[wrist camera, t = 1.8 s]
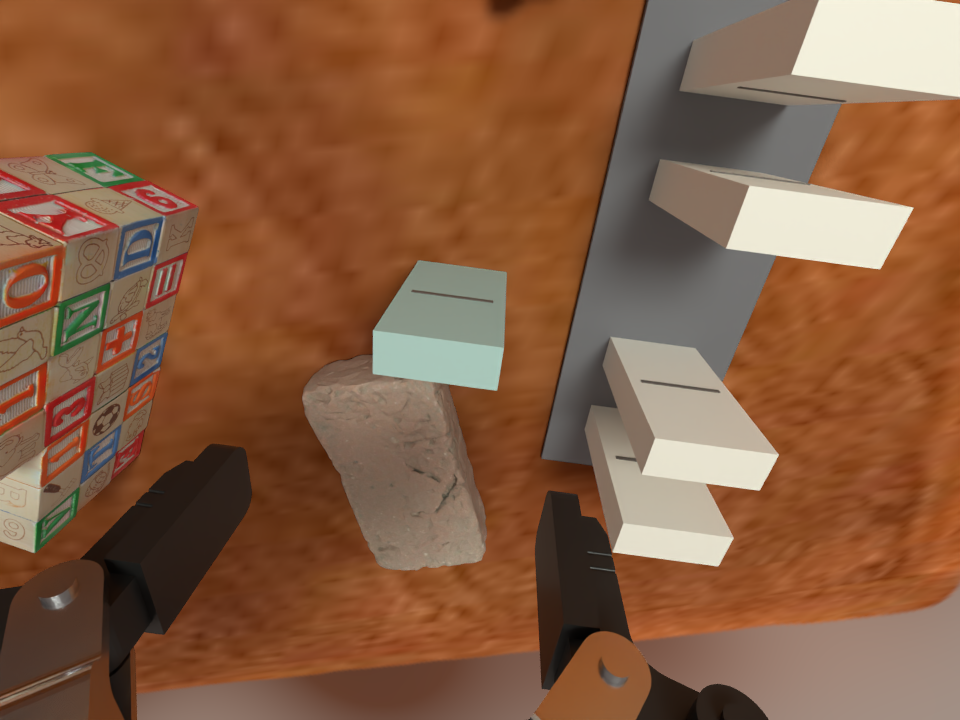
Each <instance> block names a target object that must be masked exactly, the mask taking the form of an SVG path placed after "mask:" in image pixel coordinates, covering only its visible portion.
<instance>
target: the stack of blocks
mask: <svg viewBox="0 0 960 720" xmlns="http://www.w3.org/2000/svg"><path fill="white" fill-rule="evenodd" d="M197 214H198V206H196V205H194V204H192V203H190V202H188V201H186V200H184V199H182V198H180V197H178V196H176V195H174V194H173V193H171V192H169V191H167V190H165V189H163V188H161V187H159V186H157V185H155V184H153V183H151V182H149V181H146V180H143V179H141V178H139V177H138V176H136V175H134V174H132V173H130V172H128V171H126V170H124V169H122V168H120V167H118V166H116V165H114V164H113V163H111V162H109V161H107V160H105V159H103V158H101V157H99V156H97V155H95V154H94V153H91V152H85V153H68V154H53V155H44V156H43V157H19V158H3V159H0V541H1V542H4V543H7V544H9V545H13V546H15V547H18V548H21V549H24V550H27V551H29V552H32V553H36V552H37V551H38V550H39V549H40V548H42V547H43V546H44V545H45V544H46V543H47V542H48V541H49V540H50V539H52V538H53V537H54V536H55V535H56V534H57V533H58V532H59V531H60V530H61V529H62V528H63V527H64V526H66V525H67V524H68V523H69V522H70V521H71V520H72V519H73V518H74V517H75V516H76V513H77V512H78V511H79V510H80V509H81V508H83V507H84V506H85V505H86V504H87V503H88V502H89V501H90V500H91V499H93V498H94V497H95V496H96V495H97V494H98V493H99V492H100V491H101V490H102V489H104V488H105V487H106V486H107V485H108V484H109V483H110V480H112V479H113V478H114V477H115V476H117V475H118V474H119V473H120V472H121V471H122V470H124V469H125V468H126V467H127V466H128V465H129V464H130V463H131V462H132V461H133V460H134V459H135V458H136V457H137V456H138V455H139V454H140V449H141V444H142V439H143V435H144V430H145V428H146V426H147V423H148V419H149V415H150V410H151V406H152V399H153V397H154V394H155V390H156V386H157V382H158V378H159V373H160V369H161V368H160V364H161V360H162V355H163V351H164V347H165V343H166V339H167V335H168V332H167V330H168V328H169V324H170V320H171V316H172V312H173V307H174V303H175V298H176V294H177V293H178V291H179V287H180V283H181V278H182V274H183V270H184V266H185V262H186V257H187V253H188V250H189V247H190V243H191V239H192V235H193V231H194V227H195V222H196V218H197Z"/></svg>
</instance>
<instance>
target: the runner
mask: <svg viewBox="0 0 960 720" xmlns="http://www.w3.org/2000/svg"><path fill="white" fill-rule="evenodd" d="M787 1H789V0H647V1H646V6H645V10H644V14H643V19H642V23H641V27H640V32H639V36H638V40H637V45H636V49H635V53H634V58H633V62H632V66H631V70H630V75H629V79H628V83H627V88H626V92H625V96H624V101H623V105H622V109H621V114H620V118H619V122H618V127H617V131H616V135H615V139H614V144H613V148H612V152H611V157H610V161H609V165H608V170H607V174H606V178H605V183H604V187H603V191H602V195H601V200H600V204H599V208H598V213H597V217H596V221H595V226H594V230H593V234H592V239H591V243H590V247H589V252H588V256H587V260H586V264H585V269H584V273H583V277H582V282H581V286H580V290H579V295H578V299H577V303H576V308H575V312H574V316H573V321H572V325H571V329H570V333H569V338H568V342H567V346H566V351H565V355H564V359H563V364H562V368H561V372H560V377H559V381H558V385H557V389H556V394H555V398H554V402H553V407H552V411H551V415H550V420H549V424H548V428H547V433H546V437H545V441H544V446H543V450H542V454H541V457H542V459H548V460H555V461H563V462H570V463H577V464H585V465H592V466H593V464H592V459H591V455H590V451H589V446H588V442H587V438H586V433H585V426H586V422H587V419H588V415H589V412H590V408H591V405H596V406H604V407H611V408H618V407H617V405H616V402H615V399H614V396H613V393H612V391H611V388H610V385H609V382H608V379H607V377H606V374H605V371H604V368H603V362H604V358H605V354H606V351H607V347H608V344H609V340H610V337H616V338H624V339H631V340H638V341H646V342H653V343H661V344H668V345H676V346H683V347H690V348H696V350H697V351H698V352H699V354H700V355H701V356H702V357H703V359H704V360H705V361H706V362H707V364H708V365H709V366H710V368H711V369H712V370H713V371H714V373H715V374H716V375H717V377H718V378H719V379H720V380H721V382H722V381H723V379H724V377H725V374H726V372H727V370H728V367H729V365H730V363H731V360H732V358H733V356H734V353H735V351H736V349H737V346H738V344H739V342H740V339H741V337H742V335H743V332H744V330H745V328H746V325H747V323H748V321H749V318H750V316H751V314H752V311H753V309H754V307H755V304H756V302H757V300H758V297H759V295H760V293H761V290H762V288H763V286H764V283H765V281H766V279H767V276H768V274H769V272H770V269H771V267H772V265H773V262H774V260H775V258H776V255H770V254H763V253H755V252H748V251H740V250H733V249H726V248H724V247H723V246H721V245H720V244H718V243H716V242H715V241H713V240H712V239H710V238H708V237H707V236H705V235H704V234H702V233H700V232H699V231H697V230H696V229H694V228H692V227H691V226H689V225H688V224H686V223H684V222H683V221H681V220H680V219H678V218H676V217H675V216H673V215H672V214H670V213H668V212H667V211H665V210H664V209H662V208H660V207H659V206H657V205H656V204H654V203H652V202H651V201H649V197H650V193H651V190H652V186H653V183H654V179H655V176H656V172H657V168H658V165H659V161H660V159H663V160H670V161H678V162H685V163H693V164H700V165H708V166H715V167H722V168H730V169H737V170H745V171H752V172H760V173H765V174H769V175H774V176H778V177H782V178H787V179H791V180H795V181H800V182H804V183H808V181H809V178H810V176H811V174H812V171H813V169H814V167H815V164H816V162H817V160H818V157H819V155H820V153H821V150H822V148H823V146H824V143H825V141H826V139H827V136H828V134H829V132H830V129H831V127H832V125H833V122H834V120H835V118H836V115H837V113H838V111H839V108H840V106H841V104H816V105H780V104H773V103H765V102H758V101H750V100H743V99H736V98H728V97H721V96H713V95H706V94H698V93H691V92H684V91H679V90H680V86H681V83H682V79H683V75H684V72H685V68H686V65H687V61H688V57H689V54H690V50H691V47H692V43H693V40H695V39H698V38H700V37H702V36H705V35H707V34H710V33H712V32H715V31H717V30H719V29H722V28H724V27H727V26H729V25H731V24H734V23H736V22H739V21H741V20H743V19H746V18H748V17H751V16H753V15H755V14H758V13H760V12H763V11H765V10H767V9H770V8H772V7H775V6H777V5H779V4H782V3H784V2H787Z"/></svg>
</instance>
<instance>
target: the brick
mask: <svg viewBox="0 0 960 720" xmlns="http://www.w3.org/2000/svg"><path fill="white" fill-rule="evenodd" d="M302 401H303V405H304V407H305V415H306V417H307V419H308V421H309V423H310V425H311V427H312V428H313V430H314V432H315V434H316V436H317V438H318V440H319V441H320V443H321V445H322V446H323V448H324V449H325V451H326V452H327V454H328V456H329V458H330V459H331V460H332V463H333V466H334V467H335V469H336V470H337V471H338V472H339V473H340V475H341V480H342V484H343V487H344V490H345V492H346V495H347V498H348V500H349V503H350V505H351V507H352V509H353V511H354V514H355V517H356V519H357V522H358V524H359V526H360V529H361V532H362V534H363V536H364V538H365V540H366V541H368V547H369V549H370V550H371V551H372V552H373V553H374V555H375V558H376V562H377V563H378V564H379V565H380V566H381V567H384V568H387V569H393V570H398V569H401V570H419V569H420V568H422V567H425V566H428V567H430V568H433V567H440V566H442V565H447V566H452V565H460V564H463V563H475V562H478V561H481V560H482V557H483V554H484V552H485V551H486V547H485V540H486V535H487V530H486V525H485V519H486V516H485V512H484V506H483V503H482V500H481V497H480V494H479V492H478V490H477V488H476V486H475V482H474V476H473V468H472V465H471V463H470V461H469V459H468V457H467V452H466V444H465V441H464V439H463V435H462V430H461V428H460V426H459V420H458V416H457V413H456V408H455V406H454V404H453V400H452V396H451V393H450V390H449V386H448V384H444V383H436V382H429V381H421V380H414V379H406V378H399V377H391V376H384V375H377V374H373V355H360V356H357V357H354V358H352V359H350V360H346V361H344V360H339V361H336V362H333V363H331V364H328V365H325V366H324V367H323V368H322V369H320V370H319V371H318V372H317V373H315V374H314V375H313V376H312V377H311V379H310V380H309V382H308V383H307V384H306V386H305V387H304V391H303V396H302Z"/></svg>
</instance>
